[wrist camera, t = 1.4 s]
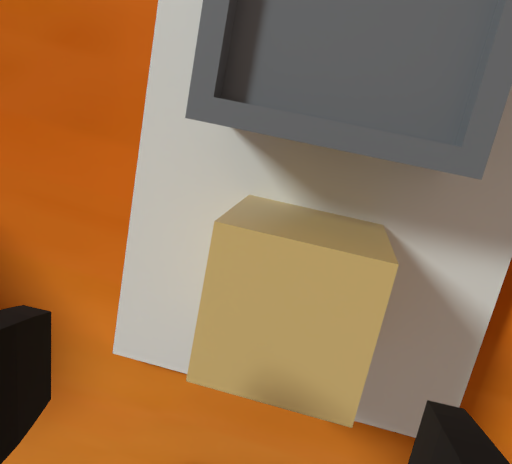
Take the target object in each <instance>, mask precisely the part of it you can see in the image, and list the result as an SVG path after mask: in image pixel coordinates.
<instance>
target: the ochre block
mask: <svg viewBox="0 0 512 464" xmlns="http://www.w3.org/2000/svg"><path fill="white" fill-rule="evenodd" d="M398 266H399V264H398V261H397V259H396V256H395V254H394V251H393V248H392V246H391V243H390V241H389V238H388V236H387V233H386V231H385V228H384V225H382V224H377V223H373V222H368V221H364V220H359V219H355V218H351V217H346V216H342V215H337V214H333V213H328V212H324V211H320V210H315V209H311V208H306V207H302V206H297V205H293V204H289V203H284V202H280V201H275V200H271V199H267V198H262V197H258V196H253V195H248V196H247V197H245V198H244V199H243V200H241V201H240V202H239V203H238V204H236V205H235V206H234V207H232V208H231V209H230V210H228V211H227V212H226V213H225V214H223V215H222V216H221V217H219V218H218V219H217V220H215V221H214V226H213V232H212V237H211V243H210V249H209V254H208V260H207V266H206V271H205V277H204V283H203V288H202V294H201V300H200V305H199V311H198V317H197V322H196V328H195V333H194V339H193V345H192V350H191V356H190V362H189V367H188V373H187V379H186V381H187V382H191V383H194V384H198V385H201V386H205V387H209V388H212V389H216V390H219V391H223V392H226V393H230V394H233V395H237V396H241V397H244V398H248V399H251V400H255V401H258V402H262V403H265V404H269V405H273V406H276V407H280V408H283V409H287V410H290V411H294V412H297V413H301V414H304V415H308V416H312V417H315V418H319V419H322V420H326V421H329V422H333V423H336V424H340V425H344V426H347V427H351V428H352V427H353V423H354V420H355V416H356V413H357V409H358V406H359V402H360V399H361V395H362V392H363V388H364V385H365V381H366V378H367V374H368V371H369V367H370V364H371V360H372V357H373V353H374V350H375V346H376V343H377V339H378V336H379V332H380V329H381V325H382V322H383V318H384V315H385V311H386V308H387V304H388V301H389V297H390V294H391V290H392V287H393V283H394V280H395V276H396V273H397V269H398Z"/></svg>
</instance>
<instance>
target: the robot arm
mask: <svg viewBox="0 0 512 464" xmlns="http://www.w3.org/2000/svg"><path fill="white" fill-rule="evenodd" d="M50 400H51V312H50V311H46V310H42V309H37V308H33V307H29V306H25V305H22V306H16V307H11V308H7V309H3V310H0V464H1V463H2V462H3V461H4V460H5V459H6V458H7V457H8V456H9V454H10V453H11V452H12V451H13V450H14V449H15V448H16V447H17V445H18V444H19V443H20V442H21V440H22V439H23V438H24V436H25V435H26V434H27V432H28V431H29V430H30V428H31V427H32V425H33V424H34V423H35V421H36V420H37V418H38V417H39V415H40V414H41V413H42V411H43V410H44V408H45V407H46V405H47V404H48V402H49V401H50ZM408 464H510V463H509V462H508V461H507V460H506V458H505V457H504V456H503V455H502V454H501V452H500V451H499V450H498V449H497V447H496V446H495V445H494V444H493V443H492V441H491V440H490V439H489V438H488V436H487V435H486V434H485V433H484V432H483V430H482V429H481V428H480V427H479V426H478V424H477V423H476V422H475V421H474V420H473V419H472V417H471V416H470V415H469V414H468V413H467V412H466V411H465V410H464V409H463V408H459V407H455V406H450V405H446V404H442V403H438V402H433V401H429V400H427V403H426V406H425V409H424V413H423V416H422V419H421V423H420V426H419V429H418V433H417V436H416V439H415V443H414V446H413V449H412V453H411V456H410V459H409V462H408Z"/></svg>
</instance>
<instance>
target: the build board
mask: <svg viewBox="0 0 512 464" xmlns="http://www.w3.org/2000/svg"><path fill="white" fill-rule="evenodd" d="M202 4H203V0H158V8H157V16H156V23H155V31H154V39H153V47H152V54H151V62H150V70H149V77H148V85H147V93H146V100H145V108H144V116H143V123H142V131H141V139H140V147H139V154H138V162H137V170H136V177H135V185H134V193H133V200H132V208H131V216H130V223H129V231H128V239H127V247H126V254H125V262H124V270H123V277H122V285H121V293H120V300H119V308H118V316H117V323H116V331H115V339H114V346H113V353H114V354H117V355H121V356H124V357H128V358H132V359H135V360H139V361H142V362H146V363H149V364H153V365H157V366H160V367H164V368H167V369H171V370H175V371H178V372H182V373H185V374H187V373H188V367H189V362H190V356H191V350H192V345H193V339H194V333H195V328H196V322H197V317H198V311H199V305H200V300H201V294H202V288H203V283H204V277H205V271H206V266H207V260H208V254H209V249H210V243H211V237H212V232H213V226H214V221H215V220H217V219H218V218H219V217H221V216H222V215H223V214H225V213H226V212H227V211H228V210H230V209H231V208H232V207H234V206H235V205H236V204H238V203H239V202H240V201H241V200H243V199H244V198H245V197H247V196H248V195H253V196H258V197H262V198H267V199H271V200H275V201H280V202H284V203H289V204H293V205H297V206H302V207H306V208H311V209H315V210H320V211H324V212H328V213H333V214H337V215H342V216H346V217H351V218H355V219H359V220H364V221H368V222H373V223H377V224H382V225H384V228H385V231H386V233H387V236H388V238H389V241H390V243H391V246H392V248H393V251H394V254H395V256H396V259H397V261H398V264H399V266H398V269H397V273H396V276H395V280H394V283H393V287H392V290H391V294H390V297H389V301H388V304H387V308H386V311H385V315H384V318H383V322H382V325H381V329H380V332H379V336H378V339H377V343H376V346H375V350H374V353H373V357H372V360H371V364H370V367H369V371H368V374H367V378H366V381H365V385H364V388H363V392H362V395H361V399H360V402H359V406H358V409H357V413H356V416H355V420H354V421H357V422H361V423H364V424H368V425H371V426H375V427H379V428H382V429H386V430H389V431H393V432H396V433H400V434H404V435H407V436H411V437H414V438H416V436H417V433H418V429H419V426H420V423H421V419H422V416H423V413H424V409H425V406H426V403H427V400H429V401H433V402H438V403H442V404H446V405H450V406H455V407H460V404H461V401H462V398H463V396H464V393H465V390H466V387H467V384H468V381H469V378H470V376H471V373H472V370H473V367H474V364H475V361H476V358H477V355H478V353H479V350H480V347H481V344H482V341H483V338H484V335H485V333H486V330H487V327H488V324H489V321H490V318H491V315H492V313H493V310H494V307H495V304H496V301H497V298H498V295H499V293H500V290H501V287H502V284H503V281H504V278H505V275H506V273H507V270H508V267H509V264H510V261H511V258H512V86H511V89H510V92H509V95H508V98H507V102H506V105H505V108H504V111H503V114H502V117H501V120H500V123H499V127H498V130H497V133H496V136H495V139H494V142H493V145H492V149H491V152H490V155H489V158H488V161H487V164H486V167H485V171H484V174H483V177H482V180H480V179H475V178H470V177H465V176H461V175H456V174H451V173H446V172H441V171H437V170H432V169H427V168H422V167H418V166H413V165H408V164H403V163H398V162H394V161H389V160H384V159H379V158H374V157H370V156H365V155H360V154H355V153H351V152H346V151H341V150H336V149H331V148H327V147H322V146H317V145H312V144H307V143H303V142H298V141H293V140H288V139H283V138H279V137H274V136H269V135H264V134H260V133H255V132H250V131H245V130H240V129H236V128H231V127H226V126H221V125H216V124H212V123H207V122H202V121H197V120H193V119H188V118H185V115H186V109H187V102H188V96H189V89H190V83H191V76H192V69H193V63H194V56H195V50H196V43H197V36H198V30H199V23H200V17H201V10H202Z"/></svg>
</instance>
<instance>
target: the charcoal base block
mask: <svg viewBox="0 0 512 464" xmlns="http://www.w3.org/2000/svg"><path fill="white" fill-rule="evenodd" d="M511 86H512V0H203V4H202V10H201V17H200V23H199V30H198V36H197V43H196V50H195V56H194V63H193V69H192V76H191V83H190V89H189V96H188V102H187V109H186V115H185V118H188V119H193V120H197V121H202V122H207V123H212V124H216V125H221V126H226V127H231V128H236V129H240V130H245V131H250V132H255V133H260V134H264V135H269V136H274V137H279V138H283V139H288V140H293V141H298V142H303V143H307V144H312V145H317V146H322V147H327V148H331V149H336V150H341V151H346V152H351V153H355V154H360V155H365V156H370V157H374V158H379V159H384V160H389V161H394V162H398V163H403V164H408V165H413V166H418V167H422V168H427V169H432V170H437V171H441V172H446V173H451V174H456V175H461V176H465V177H470V178H475V179H480V180H482V177H483V174H484V171H485V167H486V164H487V161H488V158H489V155H490V152H491V149H492V145H493V142H494V139H495V136H496V133H497V130H498V127H499V123H500V120H501V117H502V114H503V111H504V108H505V105H506V102H507V98H508V95H509V92H510V89H511Z"/></svg>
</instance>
